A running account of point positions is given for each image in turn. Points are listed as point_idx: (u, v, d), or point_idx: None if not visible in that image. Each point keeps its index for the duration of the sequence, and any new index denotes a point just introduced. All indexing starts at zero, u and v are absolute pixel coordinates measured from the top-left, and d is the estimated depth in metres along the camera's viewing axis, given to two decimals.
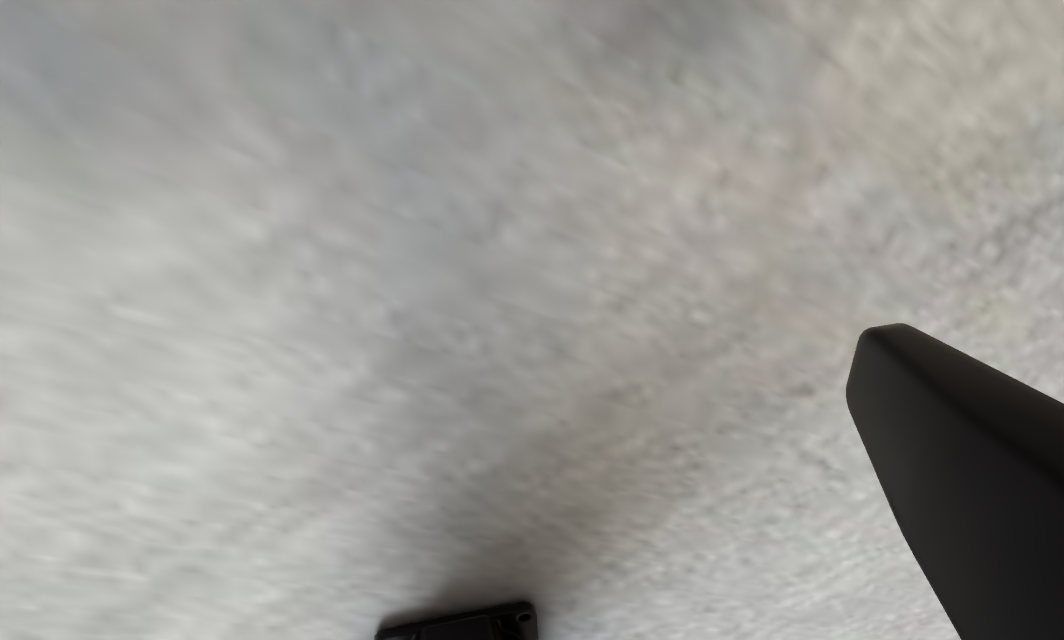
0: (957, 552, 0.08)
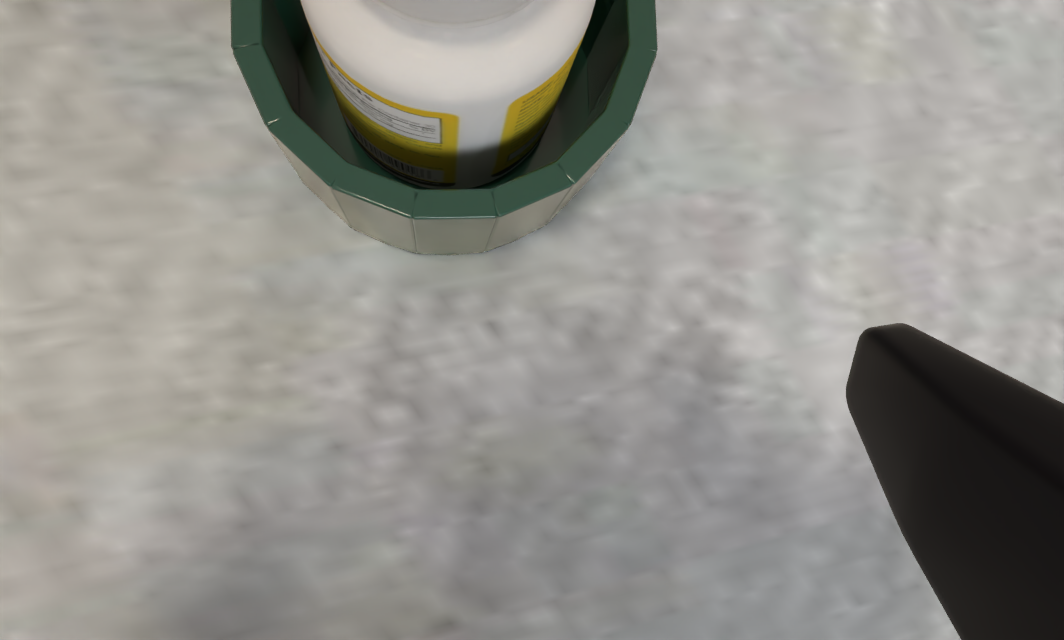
0: (957, 552, 0.08)
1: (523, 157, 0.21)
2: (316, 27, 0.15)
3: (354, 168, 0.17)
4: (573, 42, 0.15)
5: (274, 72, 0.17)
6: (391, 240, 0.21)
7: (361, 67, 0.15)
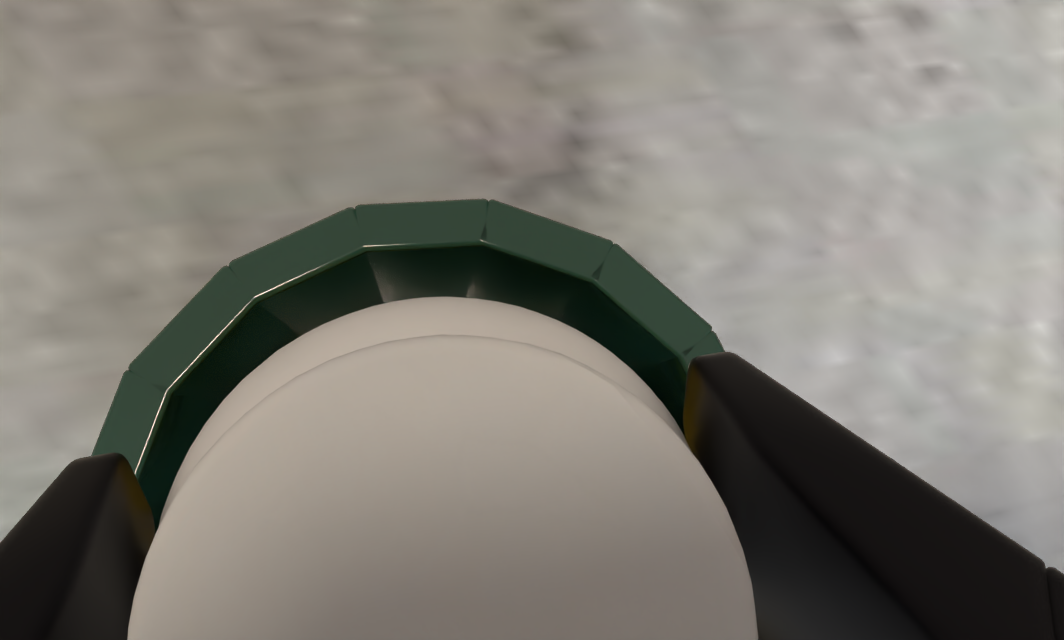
0: (767, 591, 0.08)
1: None
2: None
3: None
4: None
5: None
6: None
7: None
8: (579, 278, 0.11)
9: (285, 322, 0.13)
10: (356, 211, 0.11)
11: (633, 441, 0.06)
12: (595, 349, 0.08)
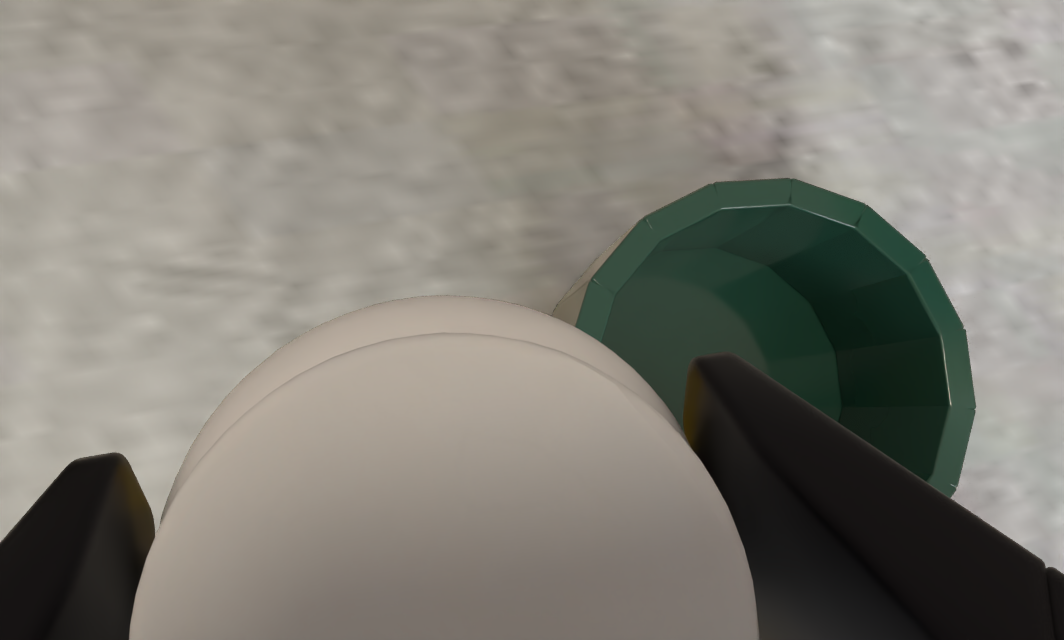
0: (767, 591, 0.08)
1: None
2: None
3: None
4: None
5: None
6: None
7: None
8: (846, 226, 0.18)
9: None
10: (713, 185, 0.18)
11: (635, 438, 0.06)
12: (596, 348, 0.08)
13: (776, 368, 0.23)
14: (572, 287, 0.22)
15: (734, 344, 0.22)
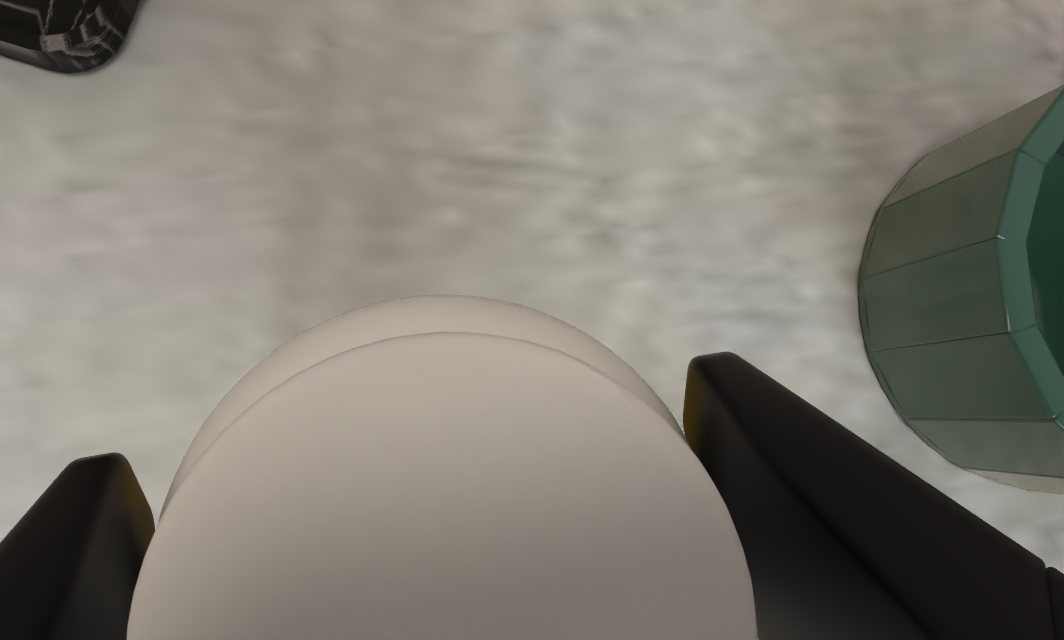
0: (767, 591, 0.08)
1: None
2: None
3: None
4: None
5: (1053, 356, 0.15)
6: (1024, 484, 0.19)
7: None
8: None
9: None
10: None
11: (633, 438, 0.06)
12: (595, 347, 0.08)
13: None
14: (905, 185, 0.20)
15: None
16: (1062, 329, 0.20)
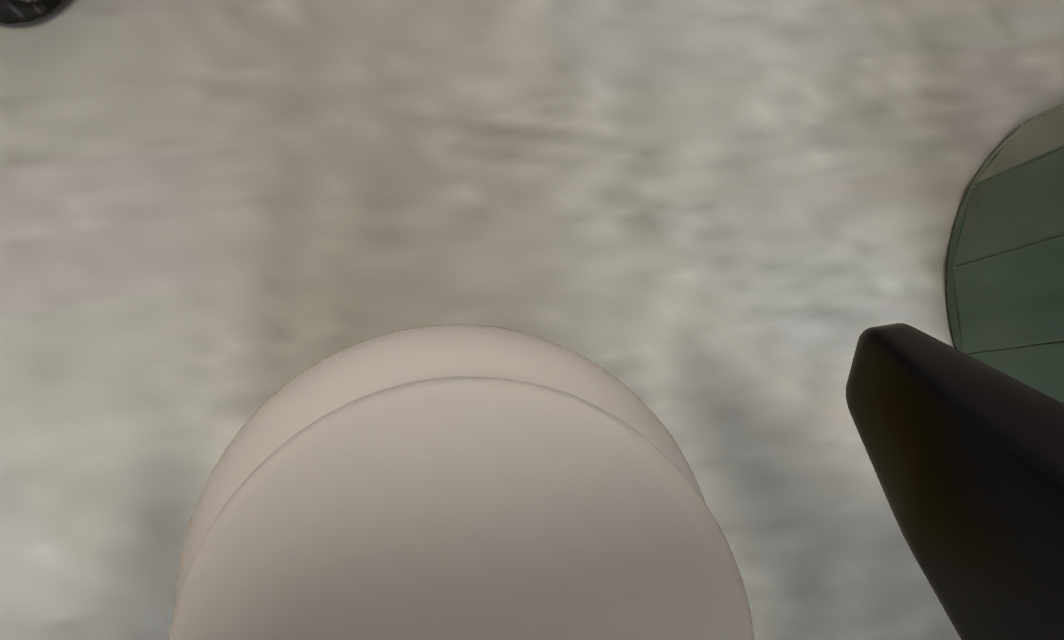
0: (957, 552, 0.08)
1: None
2: None
3: None
4: None
5: None
6: None
7: None
8: None
9: None
10: None
11: (641, 478, 0.06)
12: (601, 376, 0.09)
13: None
14: (1002, 157, 0.17)
15: None
16: None
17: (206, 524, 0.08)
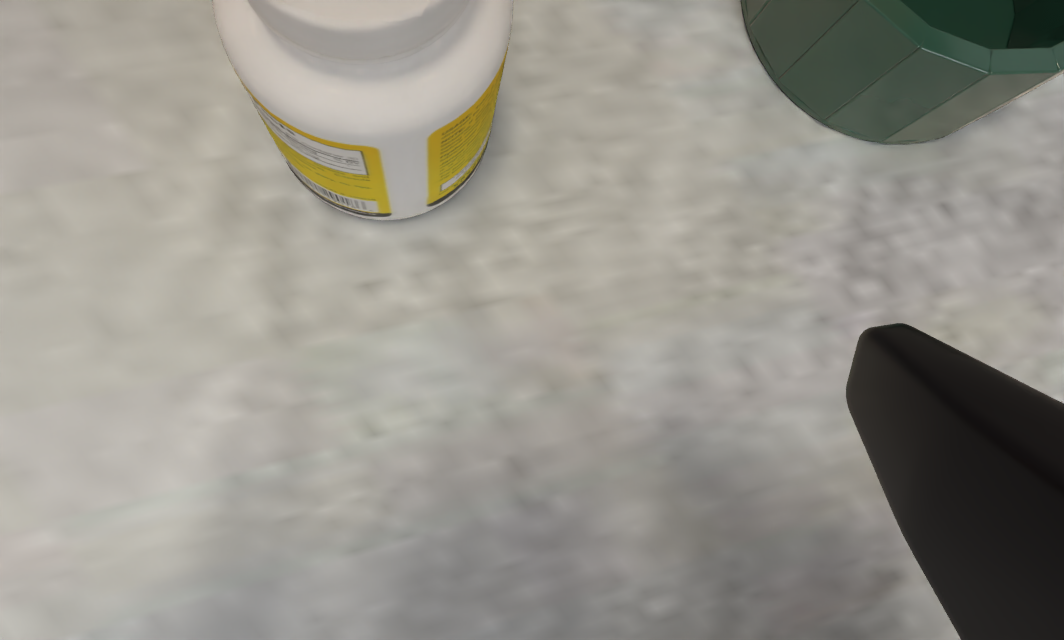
0: (957, 552, 0.08)
1: (458, 187, 0.22)
2: (235, 65, 0.15)
3: (938, 30, 0.19)
4: (487, 76, 0.16)
5: None
6: (872, 125, 0.23)
7: (279, 104, 0.15)
8: None
9: None
10: None
11: None
12: None
13: None
14: None
15: None
16: None
17: None
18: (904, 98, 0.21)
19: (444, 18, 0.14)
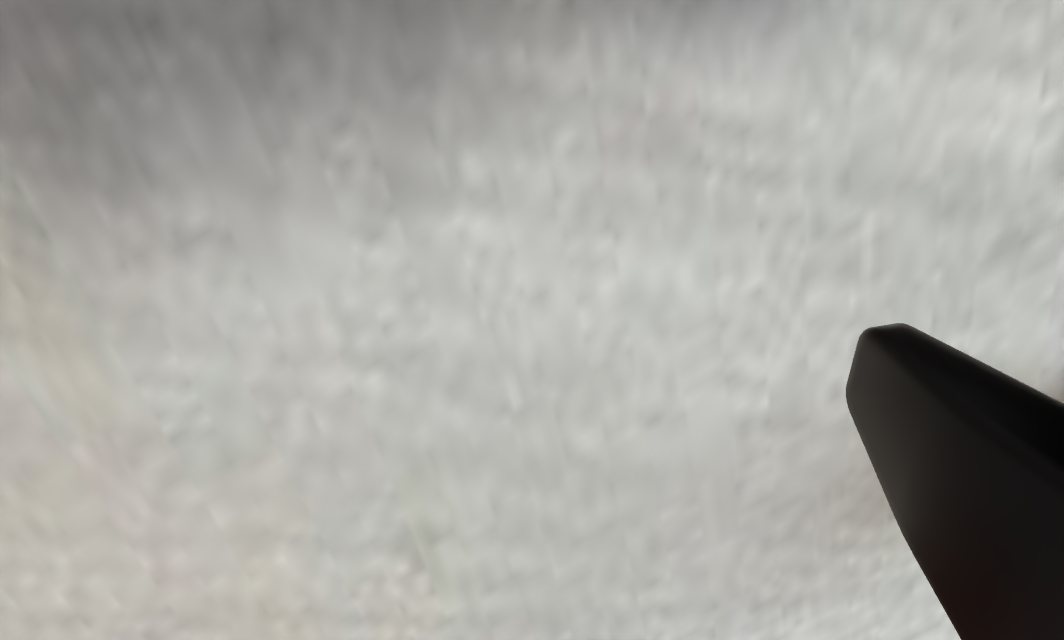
0: (957, 552, 0.08)
1: None
2: None
3: None
4: None
5: None
6: None
7: None
8: None
9: None
10: None
11: None
12: None
13: None
14: None
15: None
16: None
17: None
18: None
19: None
